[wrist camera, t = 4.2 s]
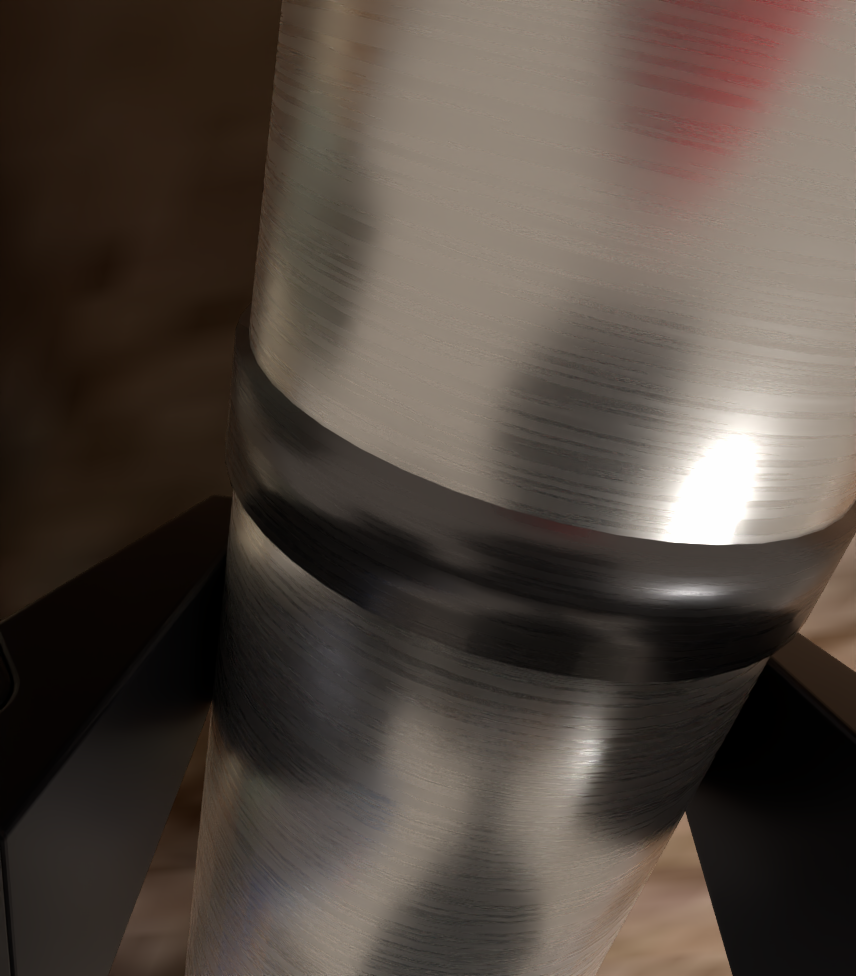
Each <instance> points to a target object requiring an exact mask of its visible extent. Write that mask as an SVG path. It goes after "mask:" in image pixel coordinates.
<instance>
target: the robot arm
mask: <svg viewBox="0 0 856 976" xmlns="http://www.w3.org/2000/svg"><path fill="white" fill-rule="evenodd" d="M231 507H232V497H227V496H221V495H213V496H211V497H209V498H207V499H206V500H204V501H202V502H200V503H199V504H197V505H195V506H194V507H192V508H190V509H189V510H187V511H185V512H184V513H182V514H180V515H179V516H177V517H175V518H174V519H172V520H170V521H169V522H167V523H165V524H164V525H162V526H160V527H159V528H157V529H155V530H154V531H152V532H150V533H148V534H147V535H145V536H143V537H142V538H140V539H138V540H137V541H135V542H133V543H132V544H130V545H128V546H127V547H125V548H123V549H122V550H120V551H118V552H117V553H115V554H113V555H112V556H110V557H108V558H107V559H105V560H103V561H102V562H100V563H98V564H96V565H95V566H93V567H91V568H90V569H88V570H86V571H85V572H83V573H81V574H80V575H78V576H76V577H75V578H73V579H71V580H70V581H68V582H66V583H65V584H63V585H61V586H60V587H58V588H56V589H55V590H53V591H51V592H50V593H48V594H46V595H45V596H43V597H41V598H39V599H38V600H36V601H34V602H33V603H31V604H29V605H28V606H26V607H24V608H23V609H21V610H19V611H18V612H16V613H14V614H13V615H11V616H9V617H8V618H6V619H4V620H3V621H1V622H0V976H108V974H109V971H110V969H111V966H112V963H113V961H114V958H115V955H116V953H117V950H118V948H119V945H120V942H121V940H122V937H123V934H124V932H125V929H126V927H127V924H128V921H129V919H130V916H131V913H132V911H133V908H134V905H135V903H136V900H137V898H138V895H139V892H140V890H141V887H142V884H143V882H144V879H145V877H146V874H147V871H148V869H149V866H150V863H151V861H152V858H153V855H154V853H155V850H156V848H157V845H158V842H159V840H160V837H161V834H162V832H163V829H164V827H165V824H166V821H167V819H168V816H169V813H170V811H171V808H172V805H173V803H174V800H175V798H176V795H177V792H178V790H179V787H180V784H181V782H182V779H183V777H184V774H185V771H186V769H187V766H188V763H189V761H190V758H191V756H192V753H193V750H194V748H195V745H196V742H197V740H198V737H199V734H200V732H201V729H202V727H203V724H204V721H205V719H206V716H207V713H208V711H209V708H210V705H211V702H212V697H213V687H214V677H215V667H216V657H217V647H218V637H219V627H220V617H221V607H222V597H223V587H224V577H225V567H226V557H227V547H228V537H229V527H230V517H231ZM685 812H686V815H687V819H688V822H689V826H690V829H691V832H692V836H693V839H694V843H695V846H696V850H697V853H698V857H699V860H700V864H701V867H702V871H703V874H704V878H705V881H706V885H707V888H708V892H709V895H710V899H711V902H712V906H713V909H714V912H715V916H716V919H717V923H718V926H719V930H720V933H721V937H722V940H723V944H724V947H725V951H726V954H727V958H728V961H729V965H730V968H731V972H732V975H733V976H856V672H855V671H853V670H852V669H850V668H849V667H847V666H846V665H844V664H843V663H842V662H840V661H839V660H837V659H836V658H834V657H833V656H831V655H830V654H828V653H827V652H826V651H824V650H823V649H821V648H820V647H818V646H817V645H815V644H814V643H812V642H811V641H810V640H808V639H807V638H805V637H804V636H802V635H801V634H799V633H797V634H796V636H795V637H794V638H793V639H792V640H791V641H790V642H789V643H787V644H786V645H785V646H783V647H782V648H781V649H780V650H778V651H777V652H776V653H775V654H773V655H771V656H770V657H769V659H768V661H767V663H766V665H765V667H764V668H763V670H762V672H761V674H760V676H759V677H758V679H757V681H756V683H755V685H754V687H753V688H752V690H751V692H750V694H749V696H748V697H747V699H746V701H745V703H744V705H743V707H742V708H741V710H740V712H739V714H738V716H737V718H736V719H735V721H734V723H733V725H732V727H731V728H730V730H729V732H728V734H727V736H726V738H725V739H724V741H723V743H722V745H721V747H720V749H719V750H718V752H717V754H716V756H715V758H714V759H713V761H712V763H711V765H710V767H709V769H708V770H707V772H706V774H705V776H704V778H703V779H702V781H701V783H700V785H699V787H698V789H697V790H696V792H695V794H694V796H693V798H692V800H691V801H690V803H689V805H688V807H687V809H686V810H685Z"/></svg>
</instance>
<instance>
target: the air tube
mask: <svg viewBox="0 0 856 976" xmlns="http://www.w3.org/2000/svg"><path fill="white" fill-rule="evenodd" d="M225 464H226V467H227V471H228V475H229V479H230V482H231V486H232V488H233V497H232V507H231V517H230V527H229V537H228V547H227V557H226V567H225V577H224V587H223V597H222V607H221V617H220V627H219V637H218V647H217V657H216V667H215V677H214V687H213V697H212V707H211V717H210V727H209V737H208V747H207V757H206V767H205V777H204V787H203V797H202V807H201V817H200V827H199V837H198V847H197V857H196V867H195V877H194V887H193V897H192V907H191V917H190V927H189V937H188V947H187V957H186V967H185V976H595V974H596V973H597V971H598V969H599V967H600V965H601V963H602V962H603V960H604V958H605V956H606V954H607V953H608V951H609V949H610V947H611V945H612V943H613V942H614V940H615V938H616V936H617V934H618V933H619V931H620V929H621V927H622V925H623V923H624V922H625V920H626V918H627V916H628V914H629V912H630V911H631V909H632V907H633V905H634V903H635V902H636V900H637V898H638V896H639V894H640V892H641V891H642V889H643V887H644V885H645V883H646V882H647V880H648V878H649V876H650V874H651V872H652V871H653V869H654V867H655V865H656V863H657V861H658V860H659V858H660V856H661V854H662V852H663V851H664V849H665V847H666V845H667V843H668V841H669V840H670V838H671V836H672V834H673V832H674V830H675V829H676V827H677V825H678V823H679V821H680V820H681V818H682V816H683V814H684V812H685V810H686V809H687V807H688V805H689V803H690V801H691V800H692V798H693V796H694V794H695V792H696V790H697V789H698V787H699V785H700V783H701V781H702V779H703V778H704V776H705V774H706V772H707V770H708V769H709V767H710V765H711V763H712V761H713V759H714V758H715V756H716V754H717V752H718V750H719V749H720V747H721V745H722V743H723V741H724V739H725V738H726V736H727V734H728V732H729V730H730V728H731V727H732V725H733V723H734V721H735V719H736V718H737V716H738V714H739V712H740V710H741V708H742V707H743V705H744V703H745V701H746V699H747V697H748V696H749V694H750V692H751V690H752V688H753V687H754V685H755V683H756V681H757V679H758V677H759V676H760V674H761V672H762V670H763V668H764V667H765V665H766V663H767V661H768V659H769V657H770V656H771V655H773V654H775V653H776V652H777V651H778V650H780V649H781V648H782V647H783V646H785V645H786V644H787V643H789V642H790V641H791V640H792V639H793V638H794V637H795V636H796V634H797V633H798V631H799V630H800V629H801V627H802V626H803V625H804V623H805V622H806V620H807V618H808V617H809V615H810V613H811V611H812V610H813V608H814V606H815V604H816V602H817V601H818V599H819V597H820V595H821V594H822V592H823V590H824V588H825V586H826V585H827V583H828V581H829V579H830V578H831V576H832V574H833V572H834V570H835V569H836V567H837V565H838V563H839V562H840V560H841V558H842V556H843V554H844V553H845V551H846V549H847V547H848V546H849V544H850V542H851V540H852V538H853V537H854V535H855V533H856V0H282V6H281V16H280V26H279V36H278V46H277V56H276V66H275V76H274V86H273V96H272V106H271V116H270V127H269V137H268V147H267V157H266V167H265V177H264V187H263V197H262V207H261V217H260V227H259V237H258V247H257V257H256V267H255V277H254V287H253V297H252V303H251V304H250V305H249V306H248V307H247V308H246V310H245V311H244V312H243V313H242V314H241V316H240V319H239V322H238V324H237V327H236V333H235V344H234V355H233V366H232V376H231V387H230V398H229V409H228V420H227V431H226V442H225Z"/></svg>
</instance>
